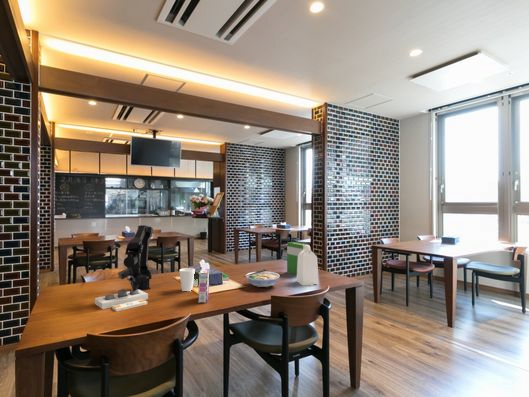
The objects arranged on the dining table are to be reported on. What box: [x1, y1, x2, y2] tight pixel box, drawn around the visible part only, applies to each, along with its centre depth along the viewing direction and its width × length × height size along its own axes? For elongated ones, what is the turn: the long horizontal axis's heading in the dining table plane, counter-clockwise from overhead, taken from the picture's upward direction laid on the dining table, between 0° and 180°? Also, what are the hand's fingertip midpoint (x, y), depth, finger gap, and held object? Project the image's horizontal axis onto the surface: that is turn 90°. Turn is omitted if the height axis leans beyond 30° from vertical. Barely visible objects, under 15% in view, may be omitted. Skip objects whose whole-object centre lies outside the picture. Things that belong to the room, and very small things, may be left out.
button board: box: [94, 289, 149, 310], centre depth 168 cm, size 24×12×3 cm, turn 135°
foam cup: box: [179, 267, 196, 292], centre depth 190 cm, size 10×9×13 cm
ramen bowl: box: [243, 268, 281, 288], centre depth 201 cm, size 25×23×8 cm
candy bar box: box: [197, 268, 210, 304], centre depth 172 cm, size 11×5×16 cm, turn 5°
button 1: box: [104, 294, 114, 300], centre depth 164 cm, size 4×4×4 cm
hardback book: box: [286, 241, 310, 276], centre depth 238 cm, size 18×7×24 cm, turn 35°
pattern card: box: [111, 299, 148, 312], centre depth 161 cm, size 16×6×1 cm, turn 135°
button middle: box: [117, 288, 128, 298], centre depth 168 cm, size 4×4×4 cm
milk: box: [296, 244, 319, 286], centre depth 211 cm, size 12×12×26 cm
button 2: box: [130, 289, 138, 295], centre depth 173 cm, size 4×4×4 cm
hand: (134, 291), depth 173 cm, fingers closed, pressing on button 2
